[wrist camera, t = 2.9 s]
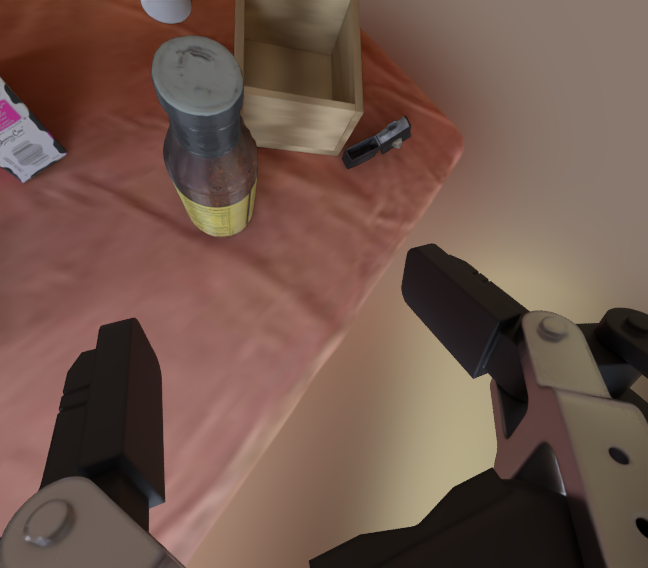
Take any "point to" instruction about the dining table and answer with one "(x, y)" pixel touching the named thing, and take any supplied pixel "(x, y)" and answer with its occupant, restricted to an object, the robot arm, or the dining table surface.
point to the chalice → (167, 10)
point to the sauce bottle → (207, 133)
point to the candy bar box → (24, 139)
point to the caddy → (300, 72)
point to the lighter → (378, 143)
